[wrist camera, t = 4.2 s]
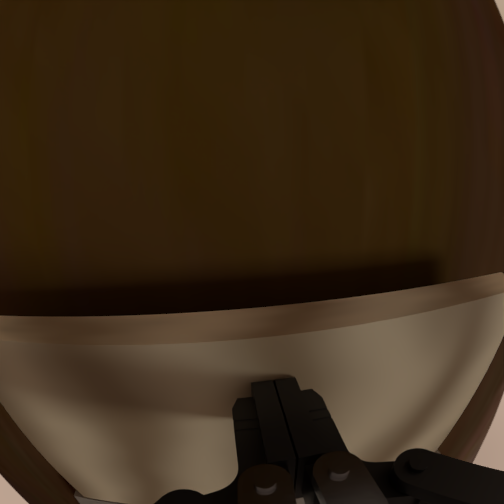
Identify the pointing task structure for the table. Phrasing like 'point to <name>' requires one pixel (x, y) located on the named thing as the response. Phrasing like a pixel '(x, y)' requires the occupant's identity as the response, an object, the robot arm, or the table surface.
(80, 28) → the table surface
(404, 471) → the robot arm
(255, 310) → the oak plank
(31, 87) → the table surface
